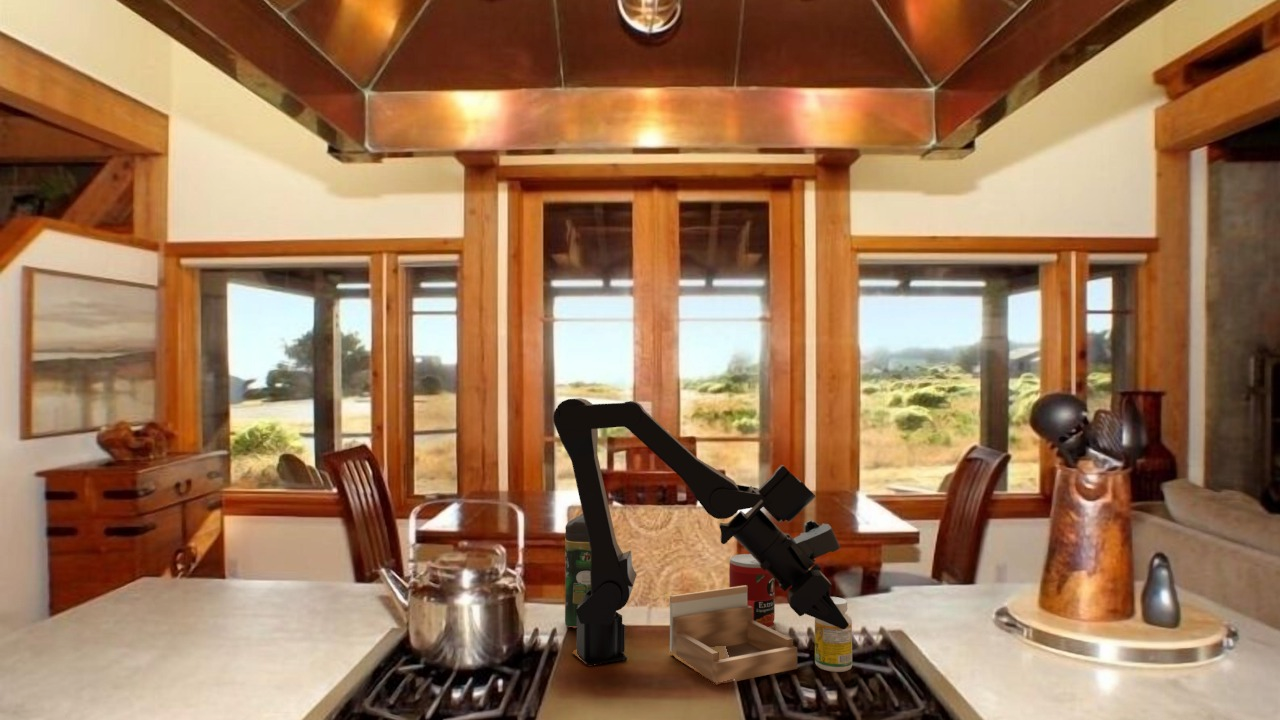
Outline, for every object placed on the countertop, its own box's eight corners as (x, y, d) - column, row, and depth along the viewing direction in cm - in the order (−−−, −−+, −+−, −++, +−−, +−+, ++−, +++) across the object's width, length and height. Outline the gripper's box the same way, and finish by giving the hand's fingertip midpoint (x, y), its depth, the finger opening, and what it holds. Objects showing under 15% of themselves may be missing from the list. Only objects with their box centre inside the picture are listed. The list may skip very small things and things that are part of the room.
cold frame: (716, 685, 104) (716, 641, 104) (673, 657, 115) (673, 617, 115) (797, 668, 110) (797, 626, 111) (749, 643, 121) (749, 605, 121)
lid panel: (671, 656, 115) (671, 596, 115) (669, 655, 116) (669, 595, 116) (747, 642, 122) (747, 586, 122) (745, 641, 122) (745, 585, 122)
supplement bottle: (850, 675, 108) (849, 607, 109) (812, 669, 110) (811, 602, 110) (854, 662, 113) (853, 597, 114) (817, 657, 115) (817, 593, 116)
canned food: (761, 632, 127) (761, 566, 127) (720, 623, 132) (720, 559, 132) (782, 621, 133) (782, 558, 133) (742, 612, 138) (742, 551, 138)
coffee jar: (569, 614, 136) (570, 510, 137) (613, 615, 136) (614, 511, 136) (560, 631, 127) (561, 519, 127) (607, 633, 126) (608, 520, 127)
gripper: (815, 516, 104) (898, 600, 102) (798, 497, 122) (868, 568, 121) (757, 573, 104) (839, 657, 103) (748, 545, 123) (818, 616, 121)
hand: (842, 620), depth 112 cm, fingers closed on supplement bottle, 5 cm apart
